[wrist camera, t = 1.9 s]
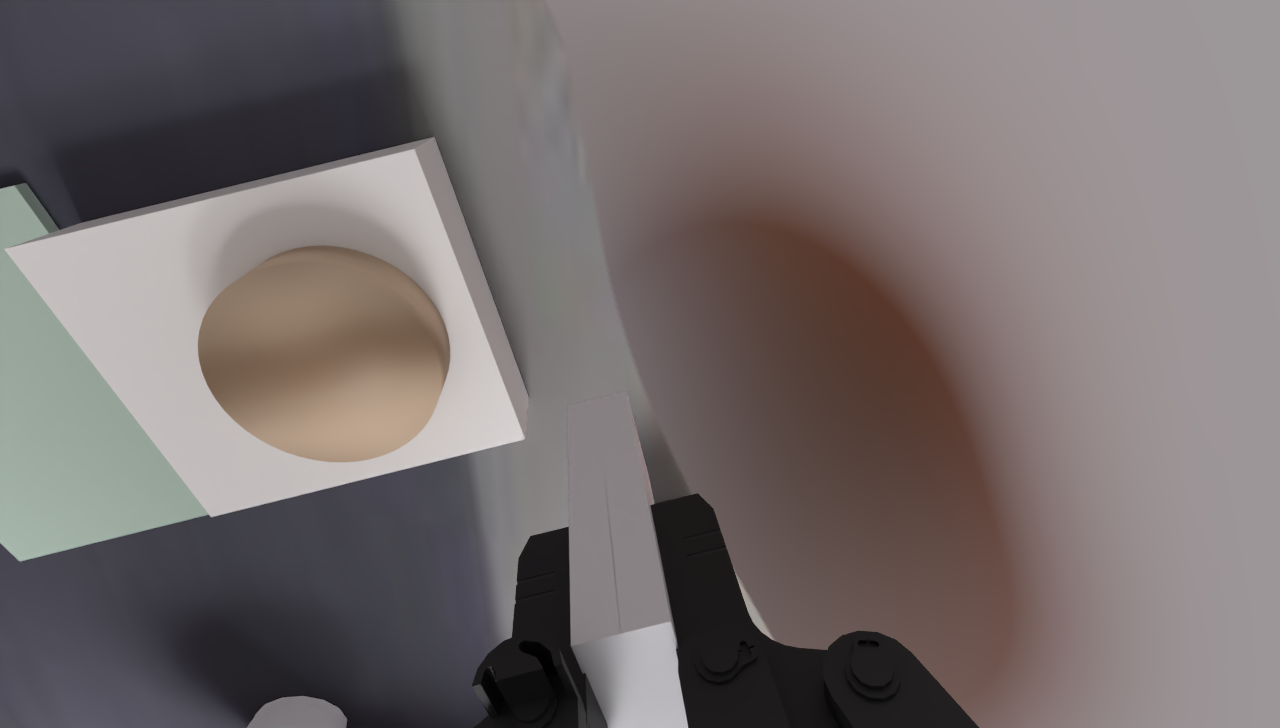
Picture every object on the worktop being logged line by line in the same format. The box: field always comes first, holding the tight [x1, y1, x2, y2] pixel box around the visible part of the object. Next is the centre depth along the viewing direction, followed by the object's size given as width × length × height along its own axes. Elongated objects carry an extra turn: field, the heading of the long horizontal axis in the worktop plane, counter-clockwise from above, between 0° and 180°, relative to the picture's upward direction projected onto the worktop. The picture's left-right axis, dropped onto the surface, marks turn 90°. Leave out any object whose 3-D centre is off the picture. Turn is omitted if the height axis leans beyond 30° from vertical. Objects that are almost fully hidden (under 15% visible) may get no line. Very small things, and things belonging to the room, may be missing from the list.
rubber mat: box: [0, 183, 209, 561], centre depth 29 cm, size 18×13×1 cm
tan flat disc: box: [198, 246, 450, 462], centre depth 24 cm, size 9×9×2 cm
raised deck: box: [4, 137, 529, 517], centre depth 27 cm, size 14×16×4 cm
